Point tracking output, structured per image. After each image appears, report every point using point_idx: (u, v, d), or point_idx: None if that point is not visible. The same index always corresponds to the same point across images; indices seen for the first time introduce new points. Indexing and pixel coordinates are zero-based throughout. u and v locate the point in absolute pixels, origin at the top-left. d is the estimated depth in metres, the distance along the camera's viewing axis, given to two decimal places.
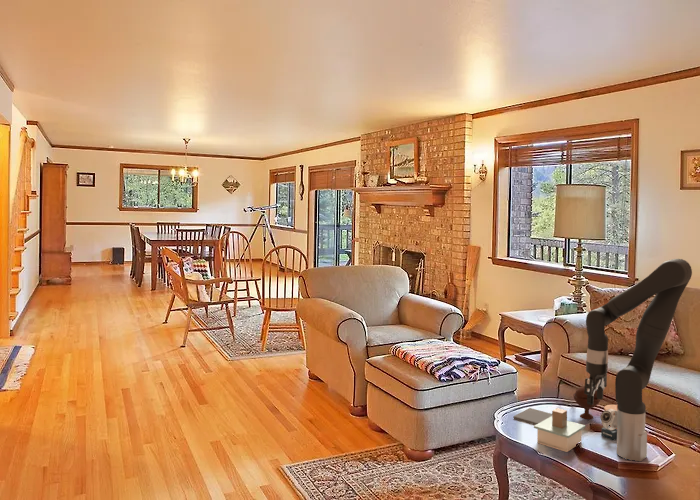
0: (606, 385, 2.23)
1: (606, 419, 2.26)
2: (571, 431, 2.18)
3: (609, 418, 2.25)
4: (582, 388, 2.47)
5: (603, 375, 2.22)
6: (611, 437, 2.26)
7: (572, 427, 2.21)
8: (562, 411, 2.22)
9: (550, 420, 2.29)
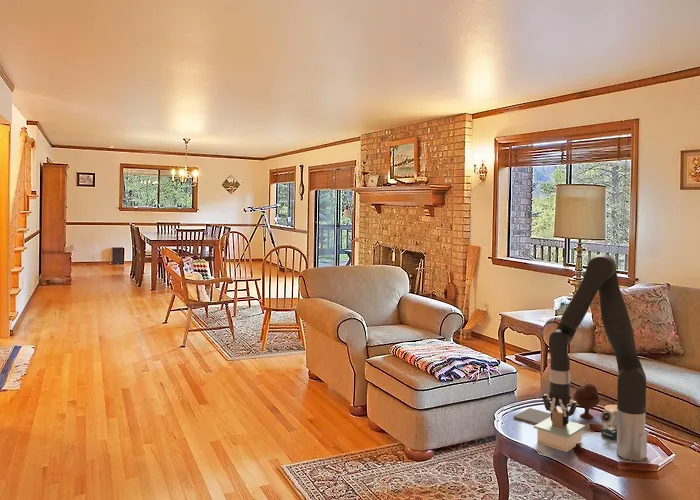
0: None
1: (606, 419, 2.26)
2: (571, 431, 2.18)
3: (609, 418, 2.25)
4: (582, 388, 2.47)
5: None
6: (611, 437, 2.26)
7: (572, 427, 2.21)
8: (562, 411, 2.22)
9: (550, 420, 2.29)
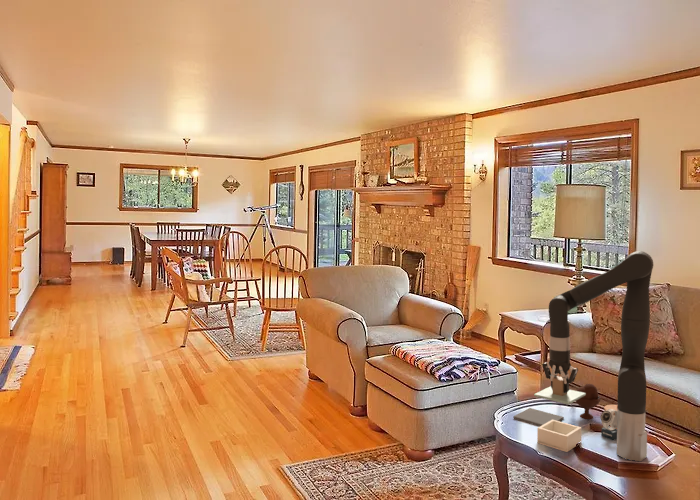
0: None
1: (606, 419, 2.26)
2: (571, 398, 2.17)
3: (609, 418, 2.25)
4: (582, 388, 2.47)
5: None
6: (611, 437, 2.26)
7: (572, 394, 2.20)
8: (562, 379, 2.21)
9: (550, 389, 2.28)
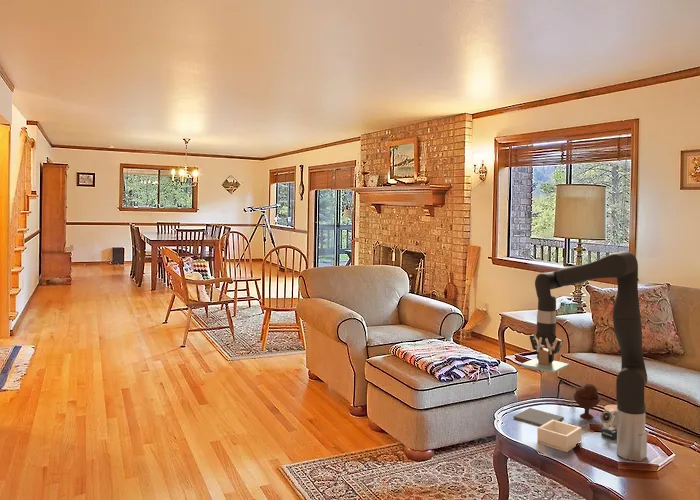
0: (536, 346, 2.41)
1: (606, 419, 2.26)
2: (556, 367, 2.31)
3: (609, 418, 2.25)
4: (582, 388, 2.47)
5: None
6: (611, 437, 2.26)
7: (557, 365, 2.35)
8: (548, 350, 2.35)
9: (536, 360, 2.42)
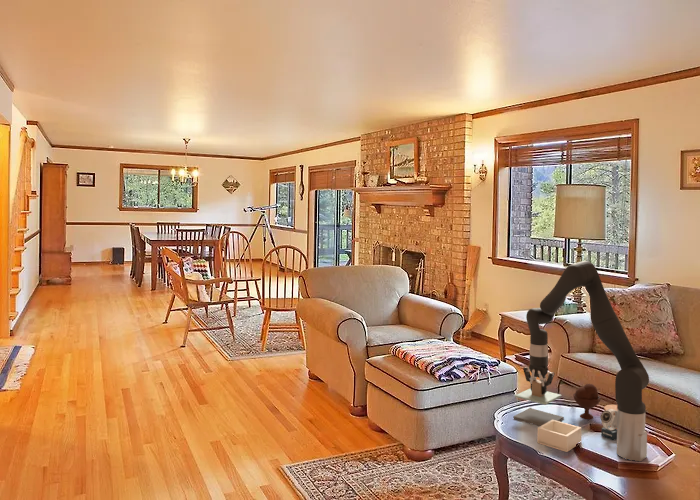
0: None
1: (606, 419, 2.26)
2: (548, 399, 2.42)
3: (609, 418, 2.25)
4: (582, 388, 2.47)
5: None
6: (611, 437, 2.26)
7: (549, 396, 2.46)
8: None
9: (530, 390, 2.53)
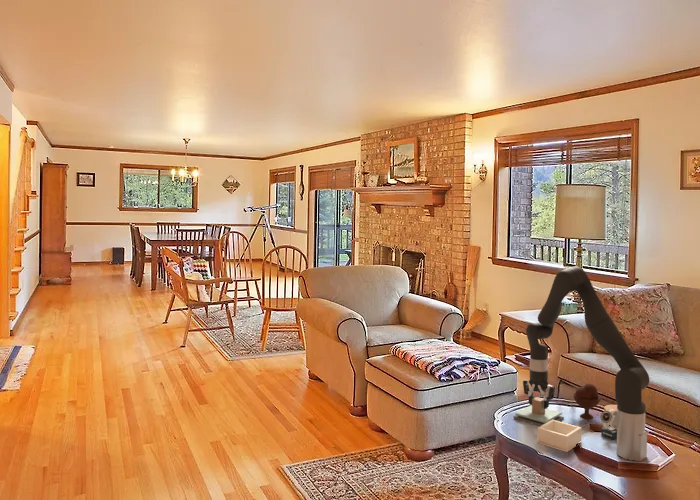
0: None
1: (606, 419, 2.26)
2: (548, 417, 2.43)
3: (609, 418, 2.25)
4: (582, 388, 2.47)
5: None
6: (611, 437, 2.26)
7: (550, 414, 2.46)
8: (541, 399, 2.47)
9: (530, 408, 2.54)
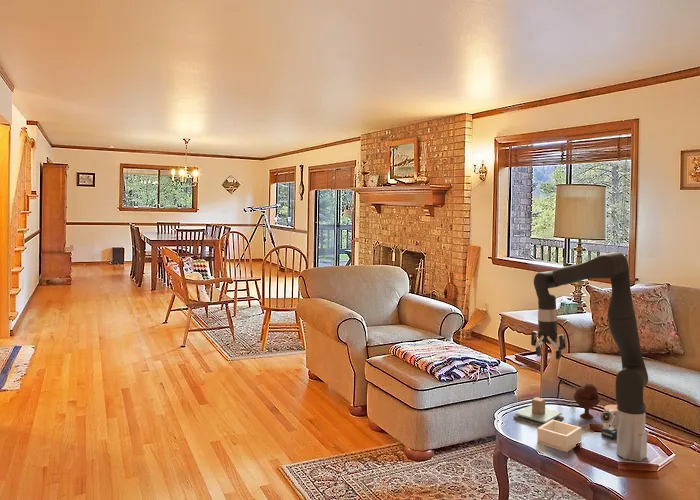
0: None
1: (606, 419, 2.26)
2: (548, 417, 2.43)
3: (609, 418, 2.25)
4: (582, 388, 2.47)
5: None
6: (611, 437, 2.26)
7: (550, 414, 2.46)
8: (541, 399, 2.47)
9: (530, 408, 2.54)
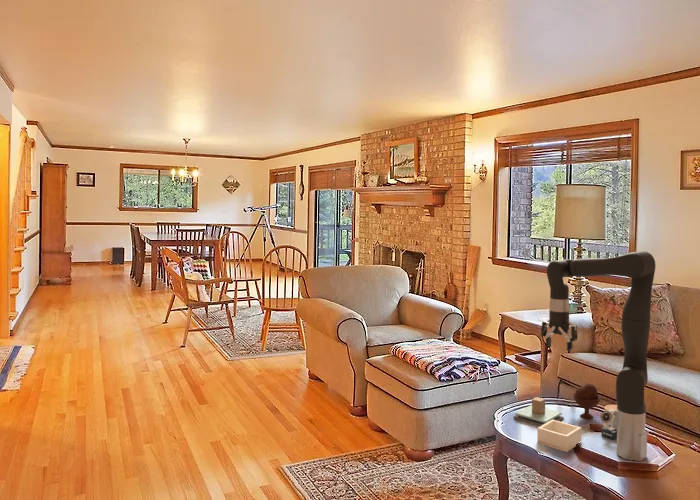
0: None
1: (606, 419, 2.26)
2: (548, 417, 2.43)
3: (609, 418, 2.25)
4: (582, 388, 2.47)
5: None
6: (611, 437, 2.26)
7: (550, 414, 2.46)
8: (541, 399, 2.47)
9: (530, 408, 2.54)
